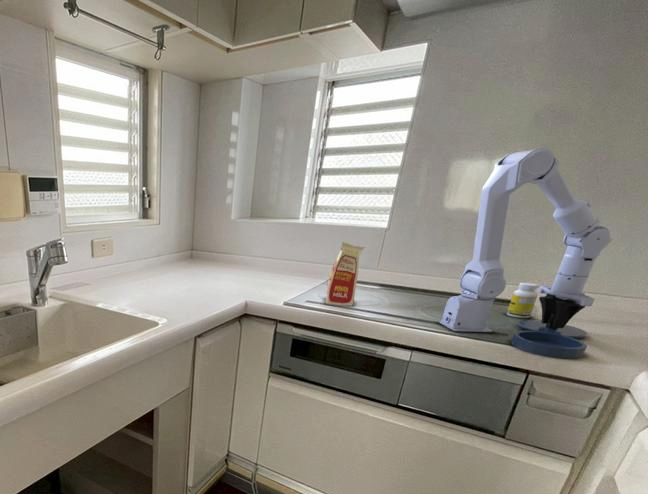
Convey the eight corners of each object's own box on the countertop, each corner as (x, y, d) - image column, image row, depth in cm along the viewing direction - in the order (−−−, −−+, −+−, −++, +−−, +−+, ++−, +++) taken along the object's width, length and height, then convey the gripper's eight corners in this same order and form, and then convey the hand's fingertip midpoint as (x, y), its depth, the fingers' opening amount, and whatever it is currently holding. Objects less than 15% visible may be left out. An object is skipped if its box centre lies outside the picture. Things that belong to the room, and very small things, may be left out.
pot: (536, 357, 92) (540, 347, 91) (499, 338, 103) (502, 330, 102) (598, 359, 90) (603, 349, 89) (553, 340, 102) (557, 331, 101)
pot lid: (541, 339, 103) (549, 320, 101) (504, 323, 115) (511, 305, 113) (601, 341, 101) (609, 321, 99) (557, 324, 114) (564, 307, 112)
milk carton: (326, 304, 136) (336, 243, 128) (325, 297, 144) (334, 239, 136) (355, 306, 133) (368, 244, 125) (353, 299, 141) (364, 240, 133)
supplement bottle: (506, 312, 125) (516, 281, 122) (529, 315, 122) (541, 283, 118) (506, 316, 121) (517, 284, 118) (529, 319, 118) (542, 286, 114)
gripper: (617, 280, 95) (593, 334, 101) (566, 269, 109) (547, 318, 114) (584, 280, 96) (561, 333, 101) (537, 269, 109) (519, 317, 115)
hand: (552, 325), depth 108 cm, fingers open, 3 cm apart
